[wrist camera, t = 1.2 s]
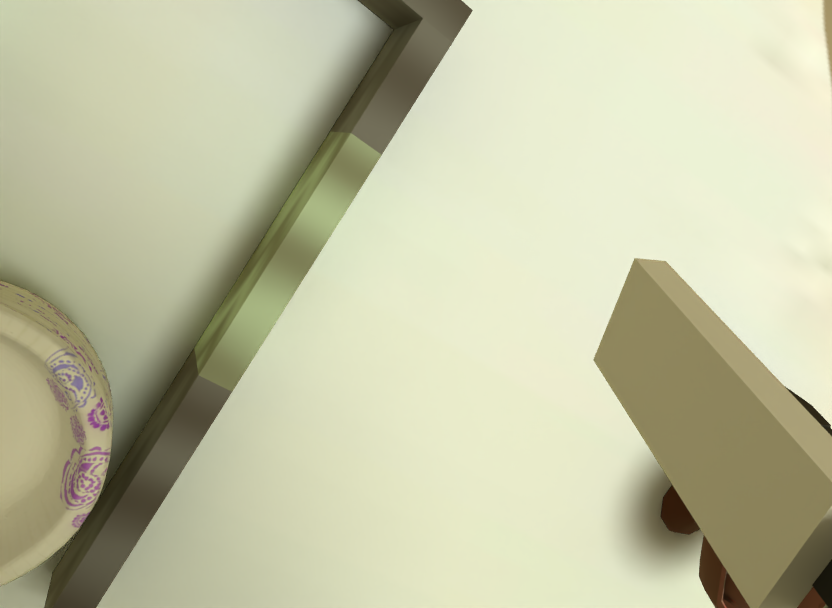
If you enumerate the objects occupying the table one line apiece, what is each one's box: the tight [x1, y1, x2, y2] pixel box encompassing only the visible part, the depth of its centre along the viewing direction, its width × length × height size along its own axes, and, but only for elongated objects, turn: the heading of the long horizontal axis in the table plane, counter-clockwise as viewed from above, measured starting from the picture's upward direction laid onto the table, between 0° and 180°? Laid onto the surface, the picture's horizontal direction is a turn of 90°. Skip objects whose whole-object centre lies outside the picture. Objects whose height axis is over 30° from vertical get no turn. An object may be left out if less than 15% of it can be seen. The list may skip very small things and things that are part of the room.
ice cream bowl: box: [661, 485, 826, 608], centre depth 51 cm, size 11×11×15 cm
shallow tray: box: [44, 0, 473, 608], centre depth 36 cm, size 40×22×5 cm, turn 145°
